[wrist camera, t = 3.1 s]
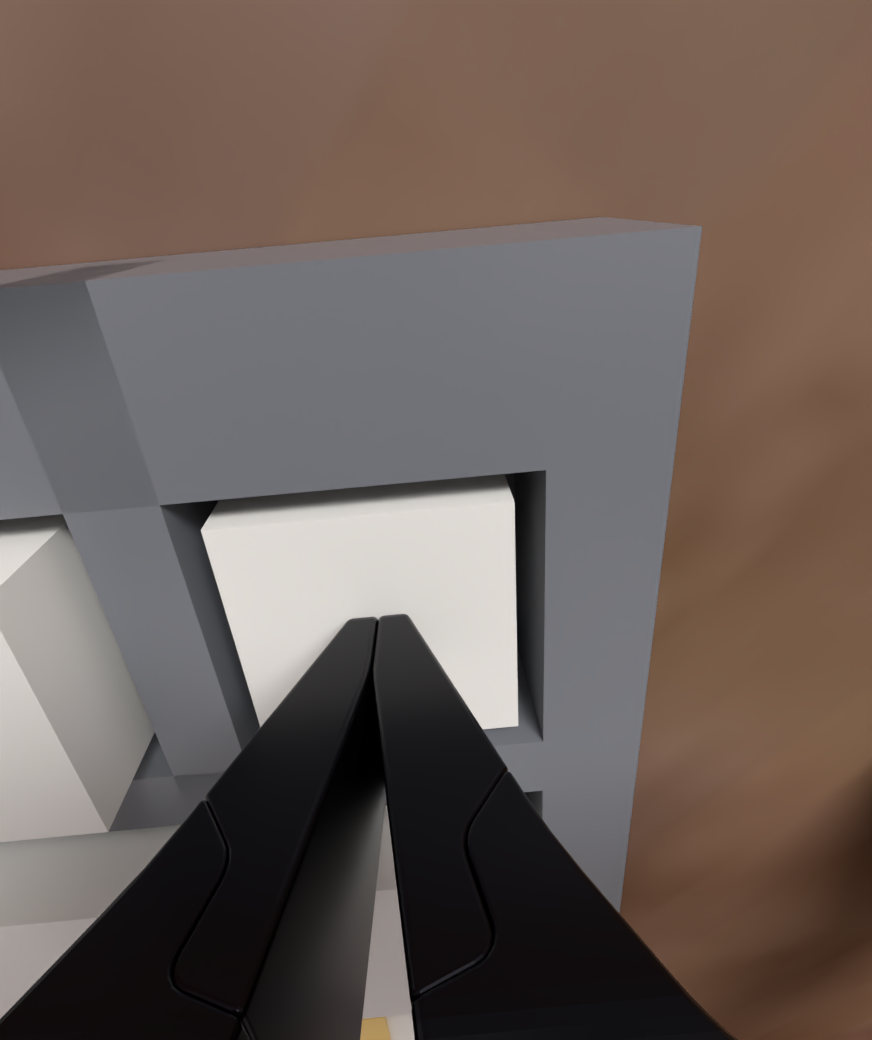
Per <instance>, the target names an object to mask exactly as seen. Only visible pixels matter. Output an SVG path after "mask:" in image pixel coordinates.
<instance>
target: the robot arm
mask: <svg viewBox="0 0 872 1040" xmlns="http://www.w3.org/2000/svg"><path fill="white" fill-rule="evenodd" d="M205 799H206V801H205V800H202V801H200V802H199V803H198V804H197V806H196V807H195V808H194V809H193V811H192V812H191V813H190V814H189V815H188V817H187V818H186V819H185V820H184V822H183V823H182V824H181V825H180V827H179V828H178V829H177V830H176V831H175V832H174V834H173V835H172V836H171V837H170V838H169V839H168V841H167V842H166V843H165V844H164V845H163V846H162V848H161V849H160V850H159V851H158V852H157V853H156V855H155V856H154V857H153V858H152V859H151V860H150V862H149V863H148V864H147V865H146V866H145V867H144V869H143V870H142V871H141V872H140V873H139V874H138V875H137V876H136V877H135V878H134V879H133V880H132V881H131V883H130V884H129V885H128V886H127V887H126V888H125V889H124V890H123V891H122V892H121V893H120V894H119V895H118V897H117V898H116V899H115V900H114V901H113V902H112V903H111V904H110V905H109V906H108V907H107V908H106V909H105V911H104V912H103V913H102V914H101V915H100V916H99V917H98V918H97V919H96V920H95V921H94V922H93V923H92V924H91V925H90V926H89V927H88V928H87V929H86V930H85V931H84V932H83V934H82V935H81V936H80V937H79V938H78V939H77V940H76V941H75V942H74V943H73V944H72V945H71V946H70V947H69V948H68V949H67V950H66V951H65V952H64V953H63V954H62V955H61V956H60V957H59V958H58V959H57V960H56V961H55V963H54V964H53V965H52V966H51V967H50V968H49V969H48V970H47V971H46V972H45V973H44V974H43V975H42V976H41V977H40V978H39V979H38V980H37V981H36V982H35V983H34V984H33V985H32V986H31V987H30V988H29V989H28V990H27V992H26V993H25V994H24V995H23V996H22V997H21V998H20V999H19V1000H18V1001H17V1002H16V1003H15V1004H14V1005H13V1006H12V1007H11V1008H10V1009H9V1010H8V1011H7V1012H6V1013H5V1014H4V1015H3V1016H2V1017H1V1018H0V1040H360V1036H361V1027H362V1017H363V1008H364V998H365V989H366V979H367V970H368V961H369V951H370V942H371V932H372V923H373V914H374V904H375V895H376V885H377V876H378V867H379V857H380V848H381V838H382V829H383V820H384V810H385V801H387V810H388V818H389V827H390V835H391V844H392V852H393V860H394V869H395V877H396V886H397V894H398V903H399V911H400V920H401V928H402V936H403V945H404V953H405V962H406V970H407V979H408V987H409V995H410V1002H411V1007H412V1009H411V1012H412V1021H413V1030H414V1038H415V1040H737V1039H736V1038H735V1037H734V1036H732V1035H731V1034H730V1033H729V1032H728V1031H726V1030H725V1029H724V1028H723V1027H722V1026H721V1025H720V1024H719V1023H718V1022H716V1021H715V1020H714V1019H713V1018H712V1017H711V1016H710V1015H709V1014H708V1013H707V1012H706V1011H705V1010H704V1009H703V1008H702V1007H701V1006H700V1005H699V1004H698V1003H697V1002H696V1001H695V1000H694V999H693V998H692V997H691V996H690V995H689V993H688V992H687V991H686V990H685V989H684V988H683V987H682V986H681V984H680V983H679V982H678V981H677V980H676V979H675V978H674V977H673V975H672V974H671V973H670V972H669V971H668V970H667V969H666V967H665V966H664V965H663V964H662V963H661V962H660V960H659V959H658V958H657V957H656V956H655V954H654V953H653V952H652V951H651V950H650V949H649V947H648V946H647V945H646V944H645V943H644V942H643V940H642V939H641V938H640V937H639V936H638V935H637V933H636V932H635V931H634V930H633V929H632V928H631V926H630V925H629V924H628V923H627V922H626V921H625V919H624V918H623V917H622V916H621V915H620V914H619V912H618V911H617V910H616V909H615V908H614V907H613V905H612V904H611V903H610V902H609V901H608V900H607V898H606V897H605V896H604V895H603V894H602V892H601V891H600V890H599V889H598V888H597V887H596V885H595V884H594V883H593V882H592V881H591V880H590V878H589V877H588V876H587V875H586V874H585V873H584V871H583V870H582V869H581V868H580V866H579V865H578V864H577V863H576V862H575V860H574V859H573V858H572V857H571V855H570V854H569V853H568V852H567V850H566V849H565V848H564V847H563V845H562V844H561V843H560V842H559V840H558V839H557V838H556V837H555V835H554V834H553V833H552V832H551V830H550V829H549V827H548V826H547V825H546V823H545V822H544V820H543V819H542V818H541V816H540V815H539V813H538V812H537V810H536V809H535V808H534V806H533V805H532V803H531V802H530V800H529V799H528V798H527V796H526V795H525V793H524V792H523V790H522V789H521V787H520V785H519V784H518V782H517V781H516V779H515V778H514V776H513V775H512V773H510V772H508V768H507V766H506V765H505V763H504V761H503V760H502V758H501V757H500V755H499V754H498V752H497V751H496V749H495V748H494V746H493V745H492V743H491V741H490V740H489V738H488V737H487V735H486V734H485V732H484V731H483V729H482V728H481V726H480V724H479V723H478V721H477V720H476V718H475V717H474V715H473V714H472V712H471V711H470V709H469V708H468V706H467V704H466V703H465V701H464V700H463V698H462V697H461V695H460V694H459V692H458V691H457V689H456V688H455V686H454V684H453V683H452V681H451V680H450V678H449V677H448V675H447V674H446V672H445V671H444V669H443V668H442V666H441V664H440V663H439V661H438V660H437V658H436V657H435V655H434V654H433V652H432V651H431V649H430V648H429V646H428V644H427V643H426V641H425V640H424V638H423V637H422V635H421V634H420V632H419V631H418V629H417V628H416V626H415V624H414V623H413V621H412V620H411V618H410V617H409V616H408V615H407V614H394V615H384V616H381V617H380V618H379V620H378V619H377V618H376V617H362V618H352V619H349V620H348V621H347V622H346V623H345V624H344V625H343V627H342V628H341V629H340V630H339V632H338V633H337V634H336V635H335V637H334V638H333V639H332V640H331V641H330V643H329V644H328V645H327V646H326V648H325V649H324V650H323V651H322V652H321V654H320V655H319V656H318V657H317V659H316V660H315V661H314V662H313V664H312V665H311V666H310V667H309V668H308V670H307V671H306V672H305V673H304V675H303V676H302V677H301V678H300V680H299V681H298V682H297V683H296V684H295V686H294V687H293V688H292V689H291V691H290V692H289V693H288V694H287V695H286V697H285V698H284V699H283V700H282V702H281V703H280V704H279V705H278V707H277V708H276V709H275V710H274V711H273V713H272V714H271V715H270V716H269V718H268V719H267V720H266V721H265V723H264V724H263V725H262V726H261V727H260V729H259V730H258V731H257V732H256V734H255V735H254V736H253V737H252V738H251V740H250V741H249V742H248V743H247V745H246V746H245V747H244V748H243V750H242V751H241V752H240V753H239V754H238V756H237V757H236V758H235V759H234V761H233V762H232V763H231V764H230V766H229V767H228V768H227V769H226V770H225V772H224V773H223V774H222V775H221V777H220V778H219V779H218V780H217V781H216V783H215V784H214V785H213V786H212V788H211V789H210V790H209V791H208V793H207V794H206V796H205Z"/></svg>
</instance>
